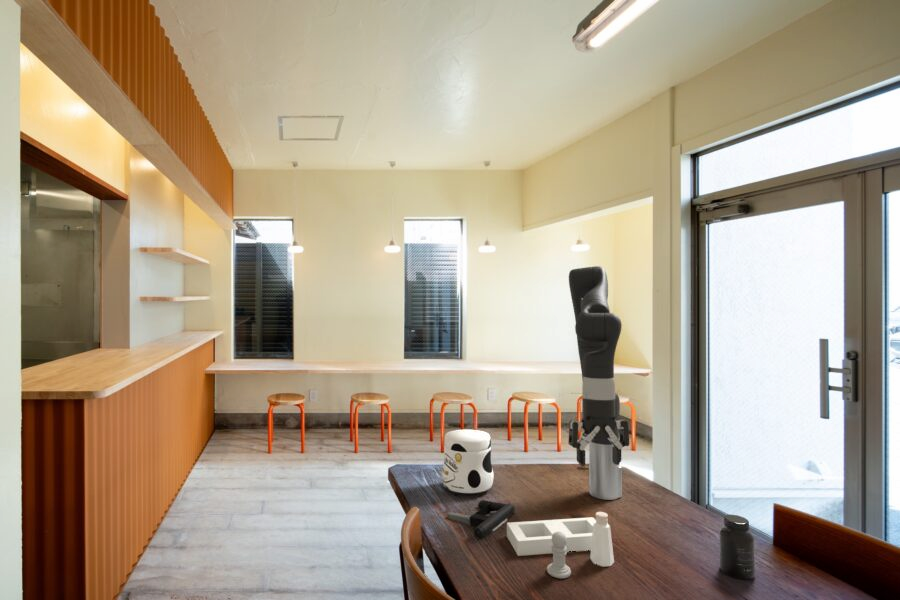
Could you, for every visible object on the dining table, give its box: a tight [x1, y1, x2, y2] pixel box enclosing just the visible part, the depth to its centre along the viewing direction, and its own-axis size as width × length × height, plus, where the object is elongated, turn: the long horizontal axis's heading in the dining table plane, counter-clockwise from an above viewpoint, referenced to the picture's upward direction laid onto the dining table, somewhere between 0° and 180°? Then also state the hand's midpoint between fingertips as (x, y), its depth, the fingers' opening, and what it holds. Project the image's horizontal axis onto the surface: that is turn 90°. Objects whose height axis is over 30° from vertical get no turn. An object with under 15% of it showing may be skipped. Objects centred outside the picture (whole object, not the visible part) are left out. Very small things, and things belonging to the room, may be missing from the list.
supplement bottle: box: [718, 514, 756, 581], centre depth 105 cm, size 7×7×12 cm
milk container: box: [441, 428, 495, 496], centre depth 154 cm, size 17×17×18 cm
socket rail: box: [506, 516, 596, 557], centre depth 118 cm, size 24×10×4 cm, turn 99°
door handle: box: [446, 499, 516, 539], centre depth 131 cm, size 3×20×16 cm
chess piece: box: [546, 532, 572, 580], centre depth 104 cm, size 5×5×9 cm
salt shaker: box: [589, 511, 615, 567], centre depth 109 cm, size 5×5×11 cm
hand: (598, 464), depth 110 cm, fingers open, 8 cm apart
